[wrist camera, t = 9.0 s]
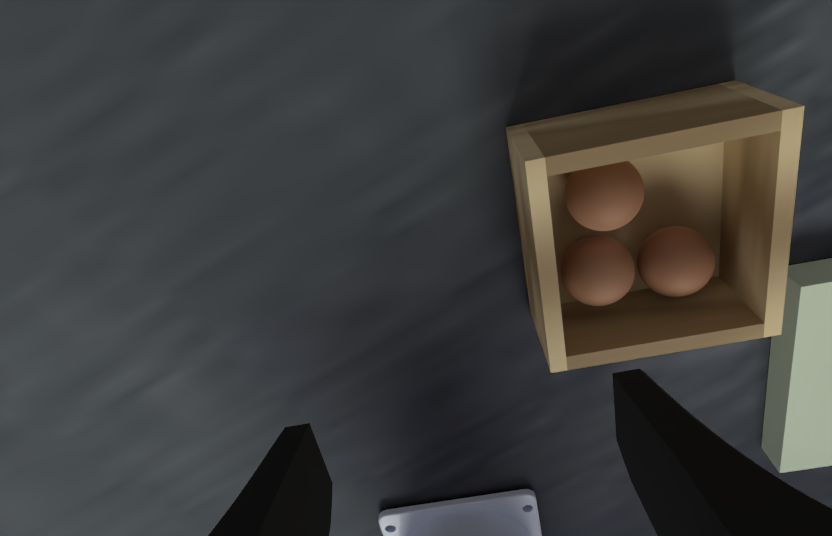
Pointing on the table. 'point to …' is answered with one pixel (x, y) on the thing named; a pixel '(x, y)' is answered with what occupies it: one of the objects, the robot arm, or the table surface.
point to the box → (657, 222)
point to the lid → (801, 373)
